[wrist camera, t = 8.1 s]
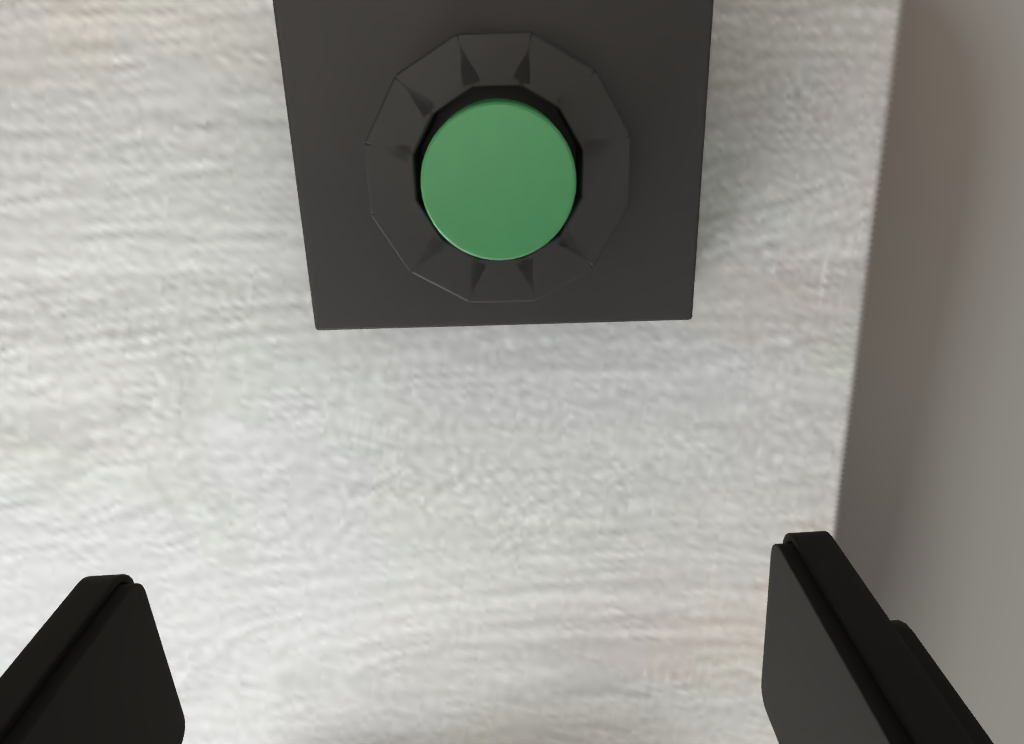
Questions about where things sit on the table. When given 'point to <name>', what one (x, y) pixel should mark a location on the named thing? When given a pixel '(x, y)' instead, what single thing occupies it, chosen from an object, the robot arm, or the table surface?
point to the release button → (498, 179)
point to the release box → (486, 75)
